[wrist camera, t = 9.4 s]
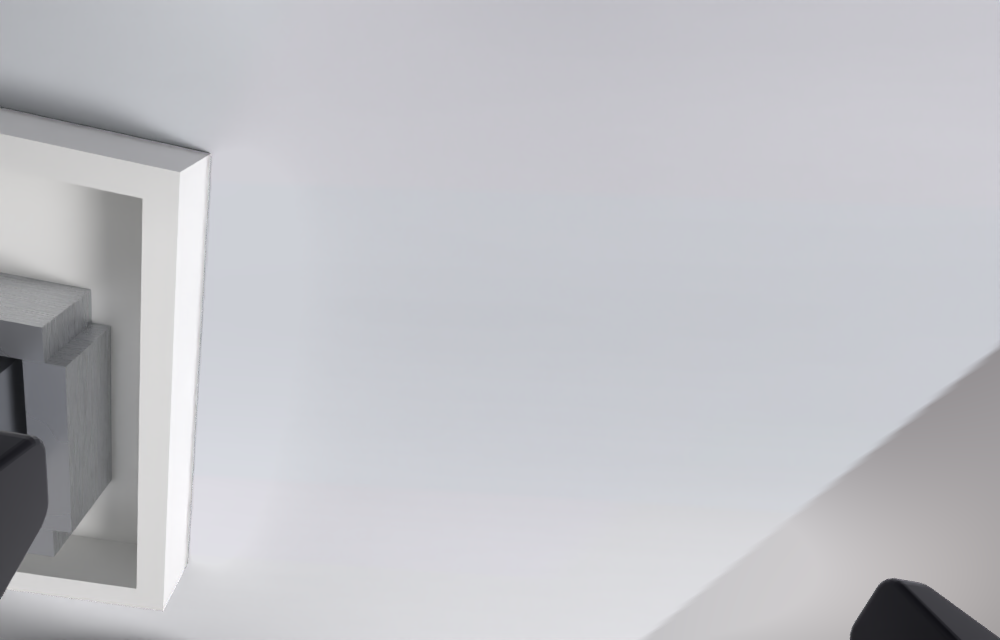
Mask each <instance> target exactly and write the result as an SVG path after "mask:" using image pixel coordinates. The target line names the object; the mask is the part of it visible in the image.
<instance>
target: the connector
mask: <svg viewBox="0 0 1000 640" xmlns="http://www.w3.org/2000/svg"><path fill="white" fill-rule="evenodd" d="M0 430H4V431H10V432H16V433H22V434H27V423H26V408H25V393H24V378H23V363H22V359H17V358H11V357H5V356H0Z"/></svg>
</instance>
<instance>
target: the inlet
mask: <svg viewBox="0 0 1000 640" xmlns="http://www.w3.org/2000/svg"><path fill="white" fill-rule="evenodd" d="M0 356H5V357H11V358H17V359H22V363H23V378H24V393H25V408H26V423H27V434H28V435H34V436H37V437H38V438H40V439H41V440H42V441H43V443H44V445H45V449H46V459H47V478H48V497H49V504H48V511H47V514H46V518H45V520H44V523H43V525H42V527H41V529H40V531H39V533H38V534H37V536H36V538H35V540H34V541H33V543H32V545H31V547H30V548H29V550H28V552H27V553H30V554H37V555H44V556H51V557H54V556H55V555H56V554H57V552H58V551H59V550H60V548H61V547H62V546H63V544H64V543H65V542H66V540H67V539H68V538H69V536H70V535H71V534H72V533H73V531H74V530H75V529H76V527H77V526H78V525H79V523H80V522H81V521H82V519H83V518H84V517H85V515H86V514H87V513H88V511H89V510H90V509H91V507H92V506H93V505H94V503H95V501H96V500H97V499H98V498H99V496H100V495H101V494H102V492H103V491H104V490H105V488H106V487H107V486H108V484H109V483H110V482H111V480H112V441H111V326H108V325H103V324H97V323H92V301H91V290H90V289H85V288H80V287H75V286H70V285H64V284H59V283H54V282H49V281H44V280H38V279H33V278H28V277H23V276H18V275H12V274H7V273H2V272H0Z"/></svg>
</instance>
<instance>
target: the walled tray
mask: <svg viewBox="0 0 1000 640" xmlns="http://www.w3.org/2000/svg"><path fill="white" fill-rule="evenodd" d="M210 166H211V153H206V152H202V151H197V150H193V149H188V148H184V147H179V146H175V145H170V144H166V143H161V142H156V141H152V140H147V139H143V138H138V137H134V136H129V135H125V134H120V133H116V132H111V131H107V130H102V129H98V128H93V127H88V126H84V125H79V124H75V123H70V122H66V121H61V120H57V119H52V118H48V117H43V116H39V115H34V114H29V113H25V112H20V111H16V110H11V109H7V108H2V107H0V272H2V273H7V274H12V275H18V276H23V277H28V278H33V279H38V280H44V281H49V282H54V283H59V284H64V285H70V286H75V287H80V288H85V289H90V290H91V301H92V323H97V324H103V325H108V326H111V441H112V480H111V482H110V483H109V484H108V486H107V487H106V488H105V490H104V491H103V492H102V494H101V495H100V496H99V498H98V499H97V500H96V501H95V503H94V505H93V506H92V507H91V509H90V510H89V511H88V513H87V514H86V515H85V517H84V518H83V519H82V521H81V522H80V523H79V525H78V526H77V527H76V529H75V530H74V531H73V533H72V534H71V535H70V536H69V538H68V539H67V540H66V542H65V543H64V544H63V546H62V547H61V548H60V550H59V551H58V552H57V554H56V555H55V556H54V557H51V556H44V555H37V554H30V553H27V554H26V555H25V557H24V559H23V561H22V562H21V564H20V566H19V568H18V569H17V571H16V573H15V575H14V576H13V578H12V580H11V582H10V583H9V585H8V587H7V589H6V590H13V591H20V592H28V593H35V594H42V595H49V596H56V597H64V598H71V599H78V600H85V601H92V602H100V603H107V604H114V605H121V606H129V607H136V608H143V609H150V610H157V611H164V609H165V607H166V605H167V603H168V601H169V599H170V597H171V595H172V593H173V591H174V589H175V587H176V585H177V583H178V581H179V579H180V577H181V575H182V573H183V571H184V569H185V567H186V565H187V564H188V552H189V534H190V517H191V499H192V481H193V464H194V446H195V429H196V411H197V394H198V376H199V359H200V341H201V324H202V306H203V289H204V271H205V253H206V236H207V218H208V201H209V183H210Z"/></svg>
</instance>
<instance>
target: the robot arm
mask: <svg viewBox="0 0 1000 640" xmlns="http://www.w3.org/2000/svg"><path fill="white" fill-rule="evenodd" d="M48 504H49V497H48V478H47V459H46V449H45V445H44V443H43V441H42V440H41V439H40V438H38V437H37V436H34V435H28V434H22V433H16V432H10V431H4V430H0V599H1V597H2V596H3V594H4V592H5V590H6V589H7V587H8V585H9V583H10V582H11V580H12V578H13V576H14V575H15V573H16V571H17V569H18V568H19V566H20V564H21V562H22V561H23V559H24V557H25V555H26V554H27V552H28V550H29V548H30V547H31V545H32V543H33V541H34V540H35V538H36V536H37V534H38V533H39V531H40V529H41V527H42V525H43V523H44V520H45V518H46V514H47V511H48ZM850 640H1000V638H999V637H998V636H996V635H995V634H993V633H992V632H991V631H989V630H988V629H987V628H985V627H984V626H982V625H981V624H980V623H978V622H977V621H976V620H974V619H973V618H971V617H970V616H969V615H967V614H966V613H965V612H963V611H962V610H960V609H959V608H958V607H956V606H955V605H954V604H952V603H951V602H950V601H948V600H947V599H945V598H944V597H943V596H941V595H940V594H939V593H937V592H936V591H934V590H933V589H932V588H930V587H929V586H927V585H924V584H922V583H919V582H914V581H908V580H901V579H895V578H892V579H886V580H885V581H883V582H881V583H880V584H879V585H878V587H877V588H876V590H875V591H874V593H873V595H872V596H871V598H870V599H869V601H868V602H867V604H866V606H865V607H864V609H863V610H862V612H861V613H860V615H859V616H858V618H857V620H856V621H855V623H854V625H853V627H852V630H851V633H850Z"/></svg>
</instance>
